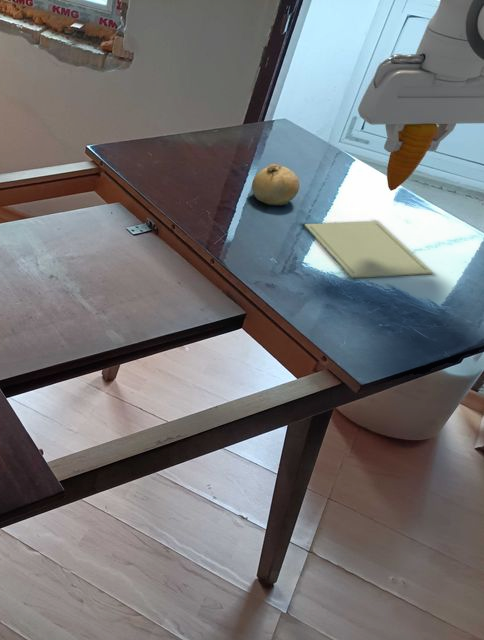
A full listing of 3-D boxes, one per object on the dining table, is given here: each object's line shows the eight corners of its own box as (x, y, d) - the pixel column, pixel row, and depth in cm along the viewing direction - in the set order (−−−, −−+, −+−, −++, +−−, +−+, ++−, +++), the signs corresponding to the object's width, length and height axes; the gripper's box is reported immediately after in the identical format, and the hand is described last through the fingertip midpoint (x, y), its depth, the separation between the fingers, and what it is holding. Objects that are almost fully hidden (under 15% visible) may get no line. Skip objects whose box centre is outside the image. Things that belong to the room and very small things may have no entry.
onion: (262, 186, 130) (273, 150, 125) (301, 201, 126) (313, 165, 121) (240, 199, 125) (251, 163, 120) (280, 216, 121) (292, 179, 116)
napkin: (431, 273, 109) (432, 272, 109) (351, 278, 107) (352, 276, 107) (376, 222, 121) (377, 221, 121) (303, 225, 119) (304, 223, 119)
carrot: (367, 185, 108) (407, 89, 98) (390, 180, 110) (432, 86, 100) (391, 199, 105) (435, 102, 95) (415, 195, 106) (460, 98, 96)
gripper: (396, 62, 90) (357, 160, 99) (532, 62, 93) (482, 158, 102) (371, 46, 95) (335, 142, 104) (501, 47, 98) (455, 140, 107)
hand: (409, 150), depth 103 cm, fingers closed on carrot, 5 cm apart
